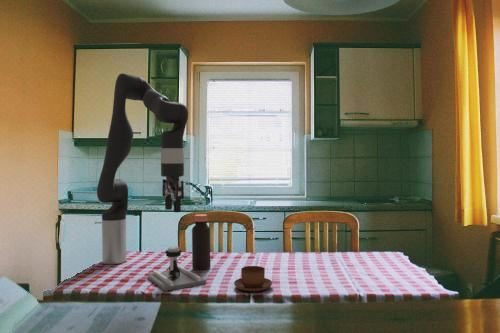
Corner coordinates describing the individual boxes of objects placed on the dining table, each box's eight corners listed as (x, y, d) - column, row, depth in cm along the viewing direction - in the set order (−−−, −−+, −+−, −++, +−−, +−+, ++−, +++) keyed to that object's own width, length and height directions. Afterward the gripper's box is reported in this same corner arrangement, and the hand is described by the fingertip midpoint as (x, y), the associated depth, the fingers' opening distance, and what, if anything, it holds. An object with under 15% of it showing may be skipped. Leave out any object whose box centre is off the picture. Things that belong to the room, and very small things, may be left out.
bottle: (188, 269, 146) (188, 215, 146) (198, 265, 152) (197, 213, 152) (205, 271, 143) (204, 216, 143) (213, 266, 150) (213, 214, 150)
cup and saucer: (228, 285, 127) (228, 266, 127) (262, 280, 132) (262, 262, 132) (242, 297, 116) (242, 276, 116) (278, 291, 121) (278, 271, 121)
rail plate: (147, 278, 135) (147, 271, 135) (185, 271, 143) (185, 265, 143) (165, 291, 121) (164, 283, 121) (206, 283, 128) (206, 276, 128)
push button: (176, 281, 127) (175, 250, 127) (160, 280, 128) (160, 250, 128) (184, 276, 133) (184, 246, 133) (169, 275, 134) (169, 246, 134)
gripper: (191, 162, 127) (191, 212, 127) (175, 162, 139) (176, 207, 139) (168, 162, 123) (169, 214, 123) (154, 162, 135) (155, 209, 135)
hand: (172, 210), depth 131 cm, fingers open, 8 cm apart
